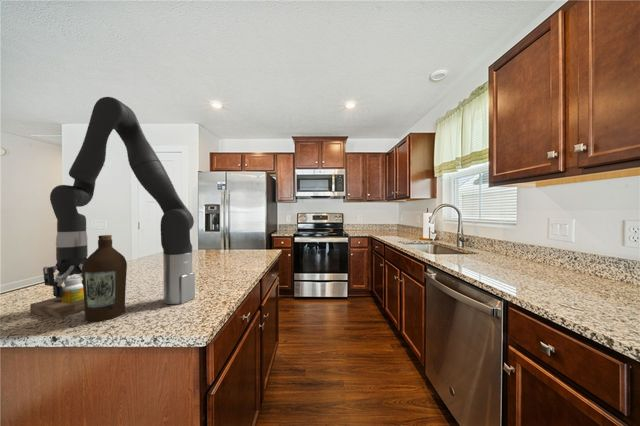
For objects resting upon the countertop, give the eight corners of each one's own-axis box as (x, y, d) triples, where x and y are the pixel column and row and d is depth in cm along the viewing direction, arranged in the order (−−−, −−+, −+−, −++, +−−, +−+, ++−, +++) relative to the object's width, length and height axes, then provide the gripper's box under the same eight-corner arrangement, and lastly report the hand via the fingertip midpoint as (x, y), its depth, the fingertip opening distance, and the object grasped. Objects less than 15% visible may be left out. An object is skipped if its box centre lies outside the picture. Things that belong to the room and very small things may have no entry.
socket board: (110, 302, 89) (110, 293, 89) (60, 318, 75) (60, 308, 75) (82, 298, 93) (82, 290, 93) (30, 313, 79) (30, 304, 79)
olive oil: (90, 312, 80) (90, 234, 80) (131, 306, 84) (130, 233, 84) (75, 325, 70) (74, 237, 70) (121, 318, 75) (121, 236, 75)
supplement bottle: (69, 311, 81) (69, 281, 81) (57, 310, 82) (56, 280, 82) (88, 304, 86) (87, 277, 86) (76, 304, 87) (75, 276, 87)
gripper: (52, 248, 76) (52, 302, 76) (103, 242, 90) (104, 288, 90) (35, 247, 78) (36, 300, 78) (88, 242, 92) (89, 286, 92)
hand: (72, 293), depth 84 cm, fingers open, 6 cm apart
